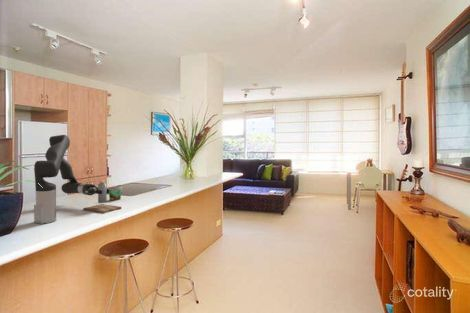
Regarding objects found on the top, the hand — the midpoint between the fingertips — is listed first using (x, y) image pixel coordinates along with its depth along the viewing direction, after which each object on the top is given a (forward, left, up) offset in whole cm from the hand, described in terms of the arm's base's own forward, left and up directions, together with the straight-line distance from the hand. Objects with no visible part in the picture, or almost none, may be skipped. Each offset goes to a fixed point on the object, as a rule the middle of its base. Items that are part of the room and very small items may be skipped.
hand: (105, 191), depth 179 cm
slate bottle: (0, +3, -7) cm, 7 cm away
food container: (+27, +19, -12) cm, 35 cm away
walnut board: (0, +3, -12) cm, 12 cm away
